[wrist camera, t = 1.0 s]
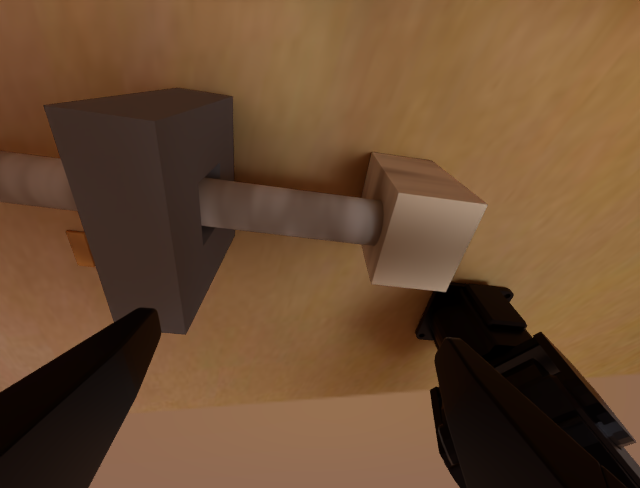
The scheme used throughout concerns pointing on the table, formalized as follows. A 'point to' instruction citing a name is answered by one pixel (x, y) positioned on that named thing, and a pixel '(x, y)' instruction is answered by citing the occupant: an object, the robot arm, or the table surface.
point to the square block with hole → (148, 194)
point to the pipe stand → (311, 214)
